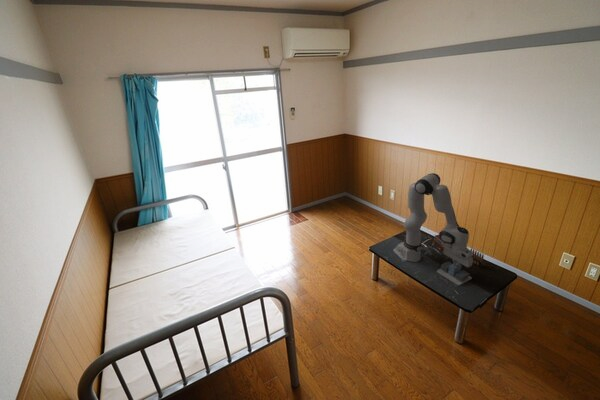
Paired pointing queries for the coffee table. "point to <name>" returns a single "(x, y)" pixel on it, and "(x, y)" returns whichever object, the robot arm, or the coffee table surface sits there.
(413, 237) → the robot arm
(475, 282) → the coffee table surface
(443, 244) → the medicine box
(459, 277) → the board
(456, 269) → the block
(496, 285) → the coffee table surface
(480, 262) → the ammunition clip
